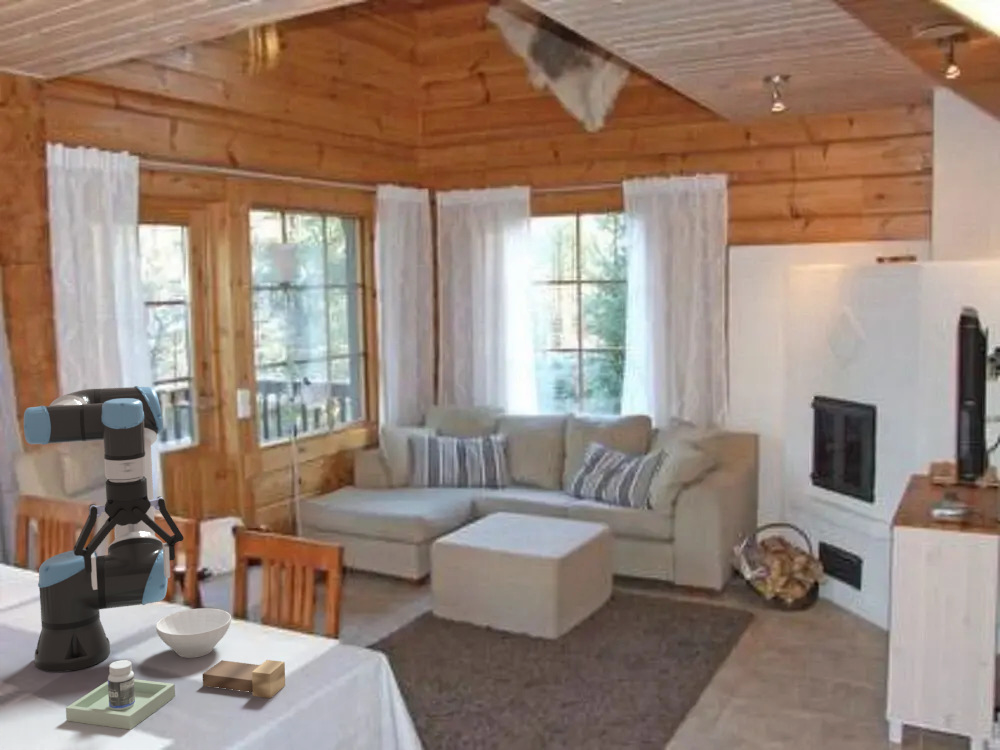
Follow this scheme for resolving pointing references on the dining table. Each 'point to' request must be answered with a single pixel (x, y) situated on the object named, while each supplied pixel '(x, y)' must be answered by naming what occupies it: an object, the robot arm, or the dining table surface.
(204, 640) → the bowl
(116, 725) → the tray
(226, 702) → the dining table surface
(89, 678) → the dining table surface
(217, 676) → the brown cardboard box
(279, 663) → the wooden block
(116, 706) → the pill bottle
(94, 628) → the robot arm
